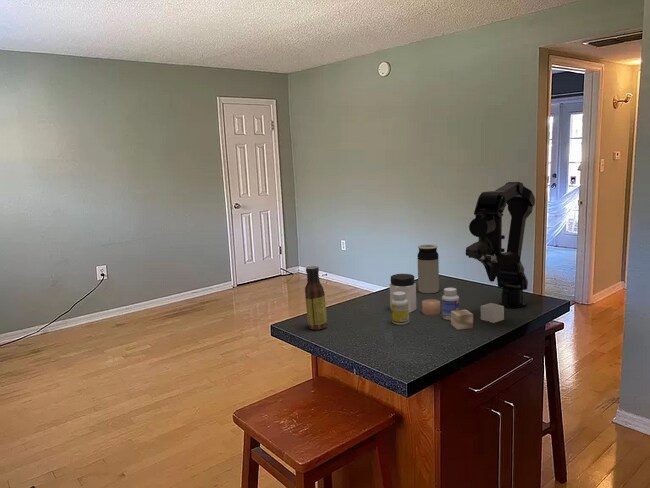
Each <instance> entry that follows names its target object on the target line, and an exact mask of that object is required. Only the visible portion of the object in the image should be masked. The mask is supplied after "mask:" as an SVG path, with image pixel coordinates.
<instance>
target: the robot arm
mask: <svg viewBox="0 0 650 488" xmlns="http://www.w3.org/2000/svg"><path fill="white" fill-rule="evenodd" d="M535 204H536V198H535V196H534V193H533V191H532V190H531V189H529V188H528V187H526V186H525V185H524V183H523V182H521V181H508V182H506V183H505V184H504V185H502V186H500V187H499V188H497V189H495V190H488V191H482V192H481V193H480V194H479V196H478V198H477V202H476V205H475V209H474V211H473V214H474V216H475V218H473V219H472V220H471V221H470V223H469V225H468V229H469V232H470V234H471V235H472V236H474V237H476V238H478V241H476V242H473V243H471V244H470V245H468V246H466V248H465V256H466V257H468V258H469V259H474V260H477V261H478V262H480V263H481V264H482V265H483V268H484V269H485V271H486V275H487V277H488V280H489V282H491V283H492V282H495V281H496V282H497V287H498V288H500V289H502V292H501V301H499V302H498V305H501V306H504V307H506V308H510V309H514V308H515V309H516V308H522V307H525V306H527V303H525V302H524V296H523V295H524V291H526V290H528V285H529V280H528V278H527V276H526V274H525V267H524V265H523V264H522V261H521V256H522V249H523V243H524V242H523V241H524V236H525V227H526V221H527V219H528V218H529V216H530V215H531V214H532V213H533V207H534V206H535ZM506 206H507V211H508V213H509V215H510V225H509V232H508V240H507V248H506V252H505V248H503V247H502V245H503V244H502V243H503V242H502V241H503V240H505V237H506V236H505V235H504V234H503V233H502V232H503V229H502V228H503V227H502V226H503V221H502V219H503V217H504V212H505V209H506Z"/></svg>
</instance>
